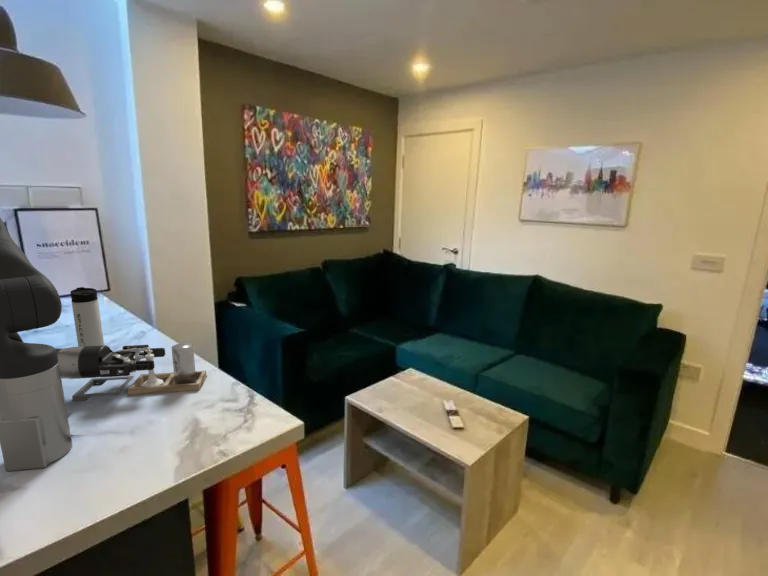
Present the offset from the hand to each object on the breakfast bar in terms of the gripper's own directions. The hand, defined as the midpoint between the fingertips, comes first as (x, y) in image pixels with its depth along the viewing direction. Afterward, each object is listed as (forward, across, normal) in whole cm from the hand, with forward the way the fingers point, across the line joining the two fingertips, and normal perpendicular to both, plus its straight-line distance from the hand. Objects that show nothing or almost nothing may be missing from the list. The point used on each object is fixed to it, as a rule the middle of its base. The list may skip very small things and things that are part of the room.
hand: (159, 358), depth 100 cm
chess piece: (-2, 0, +7) cm, 8 cm away
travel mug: (-28, +28, +8) cm, 40 cm away
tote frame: (-14, +2, +8) cm, 16 cm away
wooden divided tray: (+2, 0, +8) cm, 8 cm away
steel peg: (+5, 0, +7) cm, 9 cm away
